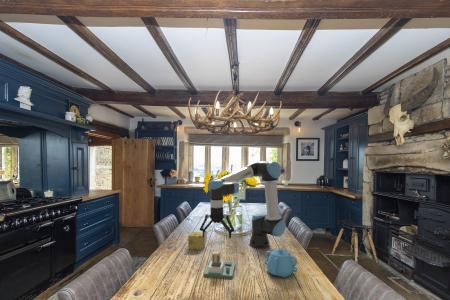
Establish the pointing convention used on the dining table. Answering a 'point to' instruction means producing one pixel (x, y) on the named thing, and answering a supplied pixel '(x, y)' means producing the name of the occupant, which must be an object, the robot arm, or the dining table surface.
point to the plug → (216, 258)
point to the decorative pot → (280, 263)
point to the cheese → (196, 241)
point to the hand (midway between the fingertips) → (217, 243)
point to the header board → (220, 270)
